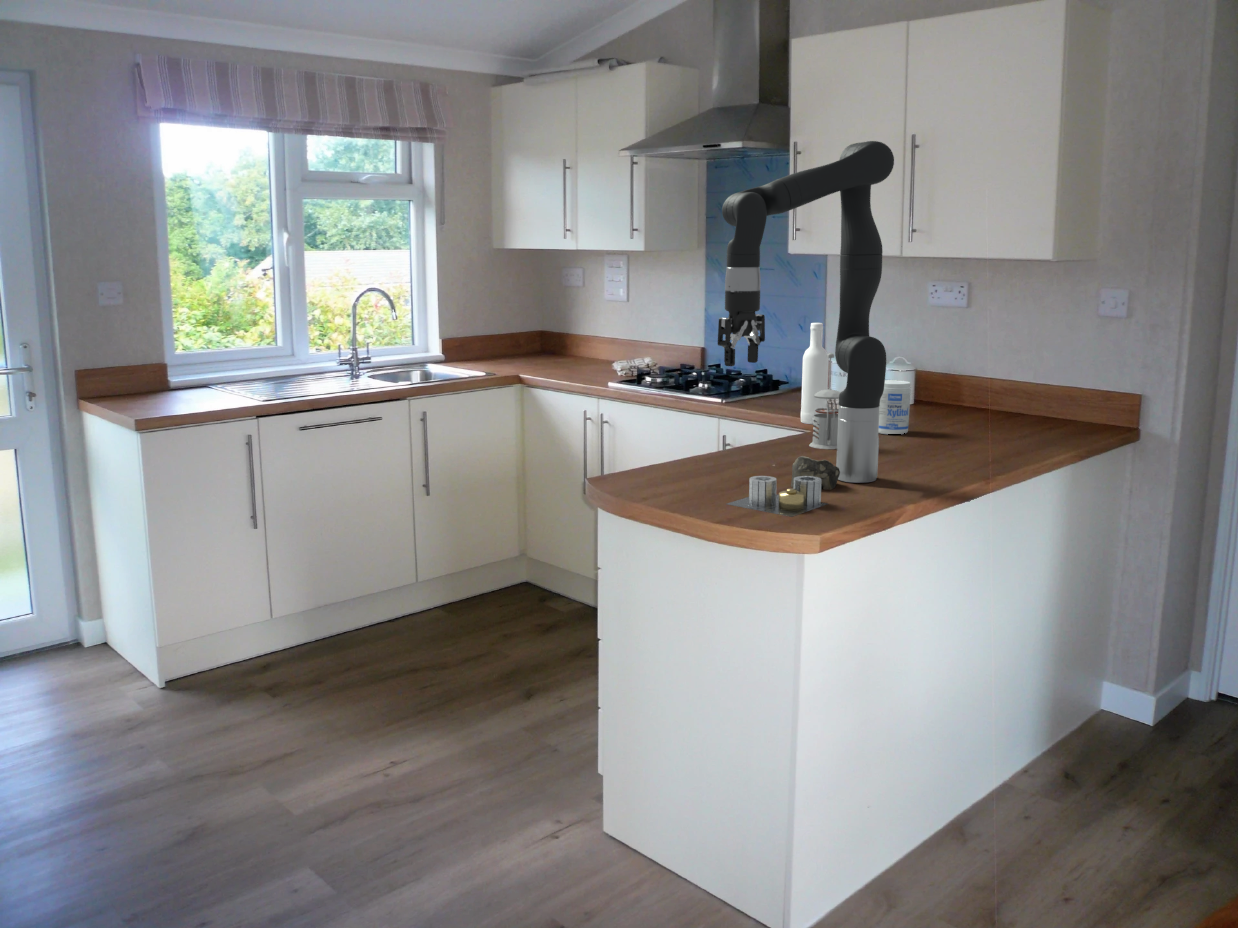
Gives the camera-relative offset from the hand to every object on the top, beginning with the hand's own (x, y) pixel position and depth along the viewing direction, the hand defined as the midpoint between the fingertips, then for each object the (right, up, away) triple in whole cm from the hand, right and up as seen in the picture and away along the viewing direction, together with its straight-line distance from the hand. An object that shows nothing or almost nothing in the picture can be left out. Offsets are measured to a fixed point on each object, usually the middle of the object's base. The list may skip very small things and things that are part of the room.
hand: (741, 364), depth 234 cm
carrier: (+6, -31, -11) cm, 34 cm away
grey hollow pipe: (+12, -30, -10) cm, 34 cm away
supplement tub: (+52, -13, +76) cm, 93 cm away
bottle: (+33, -9, +94) cm, 100 cm away
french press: (+30, -17, +56) cm, 66 cm away
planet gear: (+3, -30, -10) cm, 31 cm away
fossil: (+17, -28, +6) cm, 33 cm away
